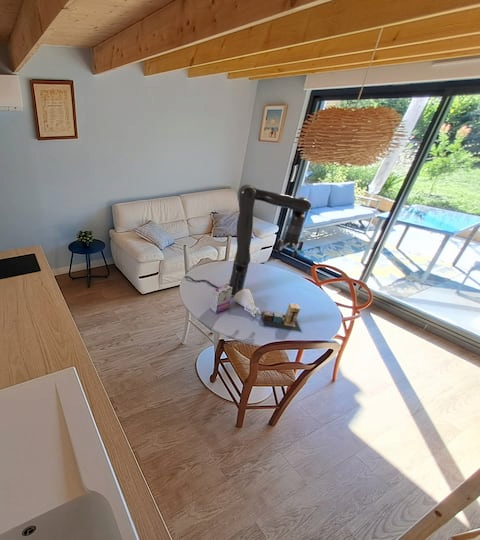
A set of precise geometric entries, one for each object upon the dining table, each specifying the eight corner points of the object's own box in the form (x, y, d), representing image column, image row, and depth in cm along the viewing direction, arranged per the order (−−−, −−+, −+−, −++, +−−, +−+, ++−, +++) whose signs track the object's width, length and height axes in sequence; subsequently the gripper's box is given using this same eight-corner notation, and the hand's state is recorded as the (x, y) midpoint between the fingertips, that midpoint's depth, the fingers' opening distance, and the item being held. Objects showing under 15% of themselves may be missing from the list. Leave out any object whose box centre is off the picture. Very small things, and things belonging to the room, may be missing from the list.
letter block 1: (263, 320, 174) (264, 314, 172) (261, 316, 178) (263, 310, 176) (271, 321, 173) (273, 315, 171) (269, 317, 177) (271, 311, 175)
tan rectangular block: (285, 323, 171) (291, 307, 165) (283, 318, 175) (289, 303, 169) (294, 325, 170) (300, 309, 164) (292, 320, 174) (298, 304, 168)
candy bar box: (223, 304, 189) (227, 284, 181) (228, 308, 185) (233, 287, 177) (210, 309, 185) (214, 288, 177) (215, 313, 181) (220, 292, 173)
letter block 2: (272, 322, 173) (274, 316, 171) (271, 317, 177) (273, 311, 174) (280, 323, 172) (283, 317, 170) (279, 318, 176) (281, 312, 173)
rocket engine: (263, 306, 171) (246, 286, 184) (247, 317, 174) (231, 296, 187) (268, 314, 178) (251, 293, 191) (252, 324, 181) (236, 303, 194)
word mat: (264, 326, 170) (264, 326, 170) (260, 312, 182) (260, 311, 181) (301, 332, 165) (301, 331, 165) (294, 317, 177) (294, 316, 177)
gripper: (304, 230, 173) (296, 254, 181) (279, 228, 176) (272, 251, 184) (308, 234, 167) (300, 259, 175) (282, 232, 169) (275, 257, 177)
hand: (285, 255), depth 179 cm, fingers open, 8 cm apart
